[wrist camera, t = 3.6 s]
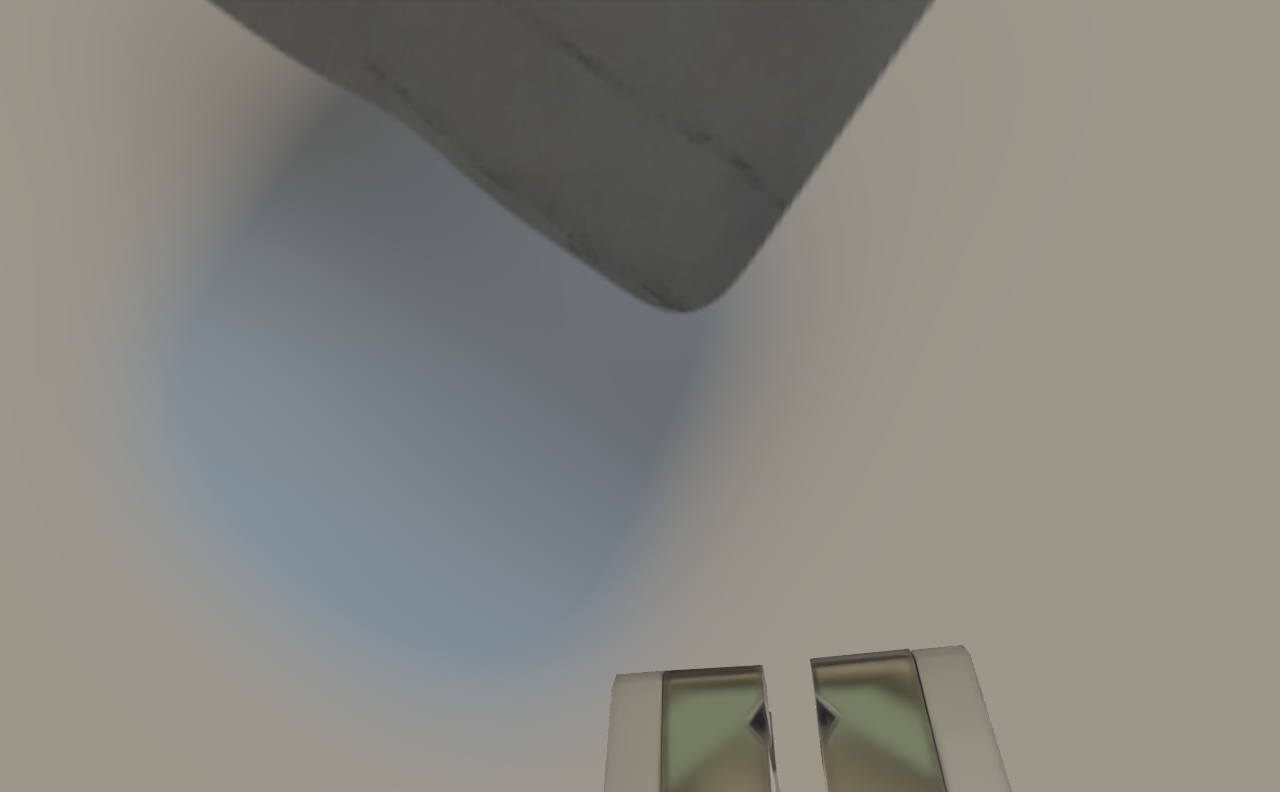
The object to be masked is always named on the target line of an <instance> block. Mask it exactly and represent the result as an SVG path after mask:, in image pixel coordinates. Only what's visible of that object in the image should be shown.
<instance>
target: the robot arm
mask: <svg viewBox="0 0 1280 792" xmlns="http://www.w3.org/2000/svg"><path fill="white" fill-rule="evenodd" d="M810 662H811V671H812V681H813V689H814V697H815V705H816V714H817V722H818V730H819V738H820V747H821V755H822V763H823V770H824V777H825V785H826V792H1012V790H1011V786H1010V783H1009V780H1008V777H1007V773H1006V770H1005V767H1004V764H1003V760H1002V757H1001V754H1000V750H999V747H998V744H997V741H996V738H995V734H994V731H993V728H992V724H991V721H990V718H989V715H988V712H987V708H986V705H985V701H984V698H983V695H982V692H981V688H980V685H979V682H978V679H977V675H976V672H975V669H974V666H973V663H972V659H971V656H970V654H969V653H968V651H967V650H966V649H965V647H964V646H962V645H961V646H949V647H939V648H929V649H920V650H912V651H911V652H910V650H909V649H903V650H893V651H883V652H873V653H864V654H853V655H843V656H834V657H824V658H814V659H810ZM767 697H768V696H767V686H766V680H765V675H764V670H763V665H755V666H738V667H723V668H722V667H721V668H705V669H690V670H672V671H656V672H643V673H631V674H618V675H616V678H615V681H614V684H613V687H612V690H611V703H610V717H609V730H608V744H607V757H606V771H605V784H604V792H781V790H780V780H779V770H778V761H777V752H776V744H775V737H774V729H773V723H772V716H771V712H769V707H768V698H767Z"/></svg>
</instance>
